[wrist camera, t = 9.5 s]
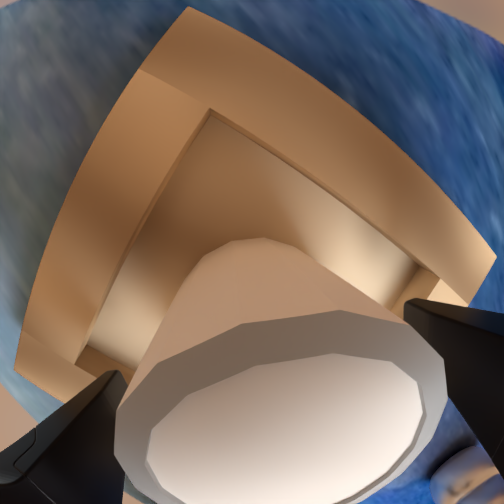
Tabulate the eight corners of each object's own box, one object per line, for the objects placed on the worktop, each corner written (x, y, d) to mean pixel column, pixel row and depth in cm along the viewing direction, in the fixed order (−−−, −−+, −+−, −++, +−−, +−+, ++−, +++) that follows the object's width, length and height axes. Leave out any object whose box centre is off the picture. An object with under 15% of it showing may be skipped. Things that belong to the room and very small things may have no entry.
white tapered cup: (352, 353, 13) (431, 475, 6) (199, 399, 13) (197, 543, 6) (322, 195, 11) (462, 249, 4) (133, 253, 11) (37, 375, 4)
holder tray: (289, 455, 16) (297, 487, 13) (36, 341, 12) (13, 369, 10) (462, 242, 13) (496, 256, 11) (193, 35, 10) (188, 6, 7)
